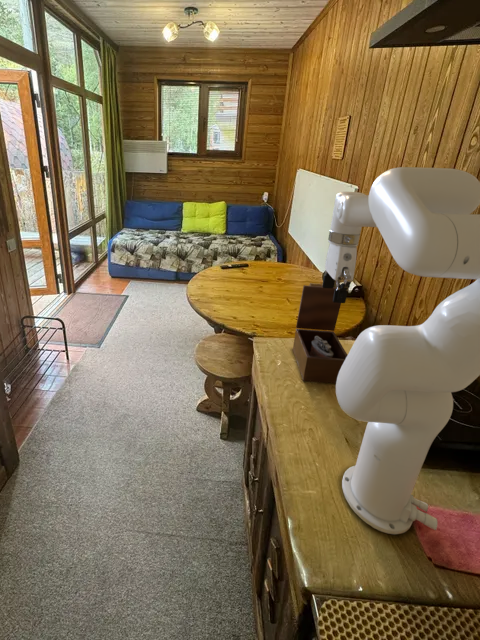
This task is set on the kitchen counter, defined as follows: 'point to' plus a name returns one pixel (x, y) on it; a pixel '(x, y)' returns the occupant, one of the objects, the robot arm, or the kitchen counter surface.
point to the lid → (317, 308)
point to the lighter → (320, 348)
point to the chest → (318, 366)
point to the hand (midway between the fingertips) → (332, 294)
